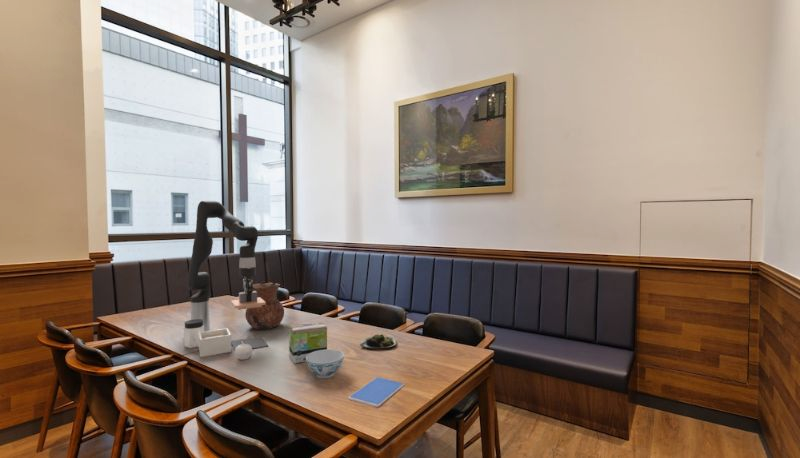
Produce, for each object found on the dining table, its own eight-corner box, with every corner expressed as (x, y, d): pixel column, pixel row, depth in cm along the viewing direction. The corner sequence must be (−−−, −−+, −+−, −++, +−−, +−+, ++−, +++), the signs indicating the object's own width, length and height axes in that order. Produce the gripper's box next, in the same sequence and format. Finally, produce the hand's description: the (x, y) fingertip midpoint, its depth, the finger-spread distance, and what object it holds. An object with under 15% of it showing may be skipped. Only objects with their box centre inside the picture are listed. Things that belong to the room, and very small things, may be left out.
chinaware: (309, 386, 139) (309, 365, 139) (303, 371, 153) (303, 352, 152) (348, 378, 145) (348, 359, 145) (339, 365, 159) (338, 347, 158)
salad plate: (361, 338, 195) (361, 329, 195) (395, 337, 196) (395, 329, 196) (359, 351, 176) (358, 341, 176) (396, 350, 176) (396, 341, 176)
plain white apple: (235, 357, 169) (234, 339, 169) (251, 354, 172) (251, 337, 172) (234, 362, 163) (234, 344, 162) (252, 359, 165) (251, 342, 165)
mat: (230, 342, 190) (230, 341, 190) (261, 337, 197) (261, 336, 197) (235, 352, 175) (235, 351, 175) (268, 346, 183) (268, 345, 183)
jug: (270, 319, 232) (270, 279, 232) (292, 324, 220) (291, 283, 219) (237, 328, 214) (236, 285, 214) (258, 334, 202) (258, 289, 201)
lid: (231, 305, 188) (230, 291, 188) (260, 301, 195) (259, 288, 195) (235, 310, 176) (234, 296, 176) (265, 307, 183) (265, 293, 183)
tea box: (293, 364, 159) (293, 330, 159) (289, 357, 168) (288, 324, 168) (327, 358, 166) (327, 325, 166) (321, 351, 175) (321, 320, 175)
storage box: (198, 348, 180) (198, 332, 180) (227, 343, 187) (227, 328, 187) (200, 357, 169) (200, 339, 169) (231, 351, 176) (231, 334, 176)
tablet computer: (376, 379, 145) (376, 376, 145) (405, 386, 140) (405, 382, 139) (347, 400, 128) (347, 396, 128) (378, 409, 122) (378, 405, 122)
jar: (184, 349, 180) (184, 324, 180) (183, 344, 187) (183, 320, 186) (205, 345, 185) (204, 321, 185) (203, 341, 192) (203, 318, 191)
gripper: (237, 265, 189) (238, 298, 190) (241, 268, 177) (242, 304, 178) (252, 264, 193) (253, 297, 194) (258, 267, 181) (258, 302, 182)
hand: (248, 300), depth 186 cm, fingers closed on lid, 4 cm apart
